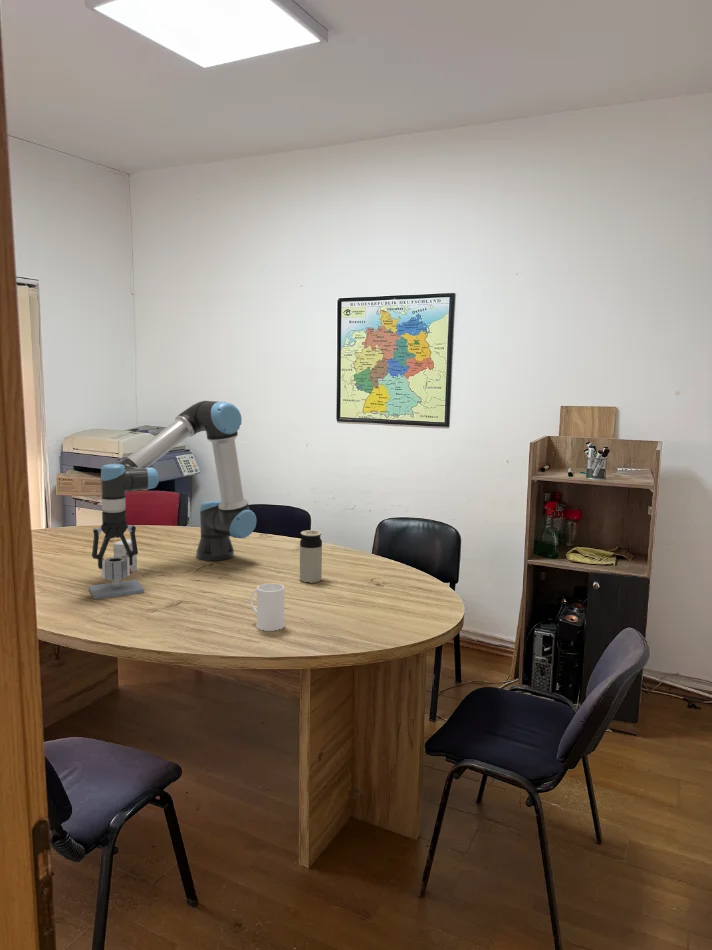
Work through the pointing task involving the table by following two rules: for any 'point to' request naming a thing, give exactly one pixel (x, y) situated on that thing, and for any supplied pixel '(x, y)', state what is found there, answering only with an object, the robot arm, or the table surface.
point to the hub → (115, 568)
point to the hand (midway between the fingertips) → (115, 576)
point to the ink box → (125, 553)
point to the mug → (269, 606)
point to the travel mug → (310, 556)
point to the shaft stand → (116, 589)
